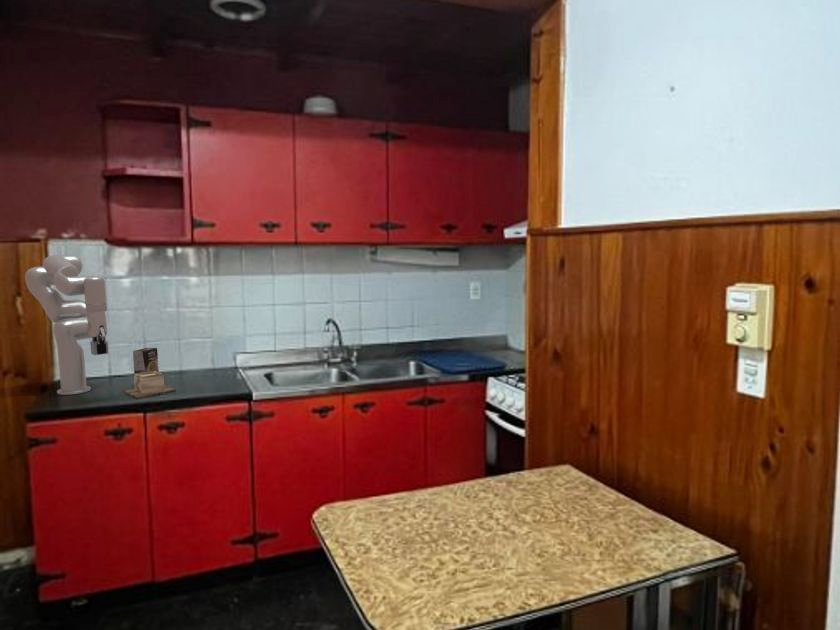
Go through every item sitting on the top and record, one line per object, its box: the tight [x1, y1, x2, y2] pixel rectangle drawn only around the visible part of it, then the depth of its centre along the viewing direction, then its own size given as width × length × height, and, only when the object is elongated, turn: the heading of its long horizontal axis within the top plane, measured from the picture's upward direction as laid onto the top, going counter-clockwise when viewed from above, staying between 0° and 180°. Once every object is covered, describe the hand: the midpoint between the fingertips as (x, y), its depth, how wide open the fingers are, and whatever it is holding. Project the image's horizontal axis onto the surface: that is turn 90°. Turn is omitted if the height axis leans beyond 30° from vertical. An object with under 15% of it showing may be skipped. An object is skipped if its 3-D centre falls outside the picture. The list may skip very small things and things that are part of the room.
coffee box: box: [132, 347, 160, 375], centre depth 270 cm, size 9×6×16 cm
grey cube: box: [90, 340, 109, 356], centre depth 243 cm, size 5×5×5 cm
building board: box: [122, 371, 177, 399], centre depth 256 cm, size 16×16×8 cm
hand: (99, 352), depth 243 cm, fingers closed on grey cube, 5 cm apart
